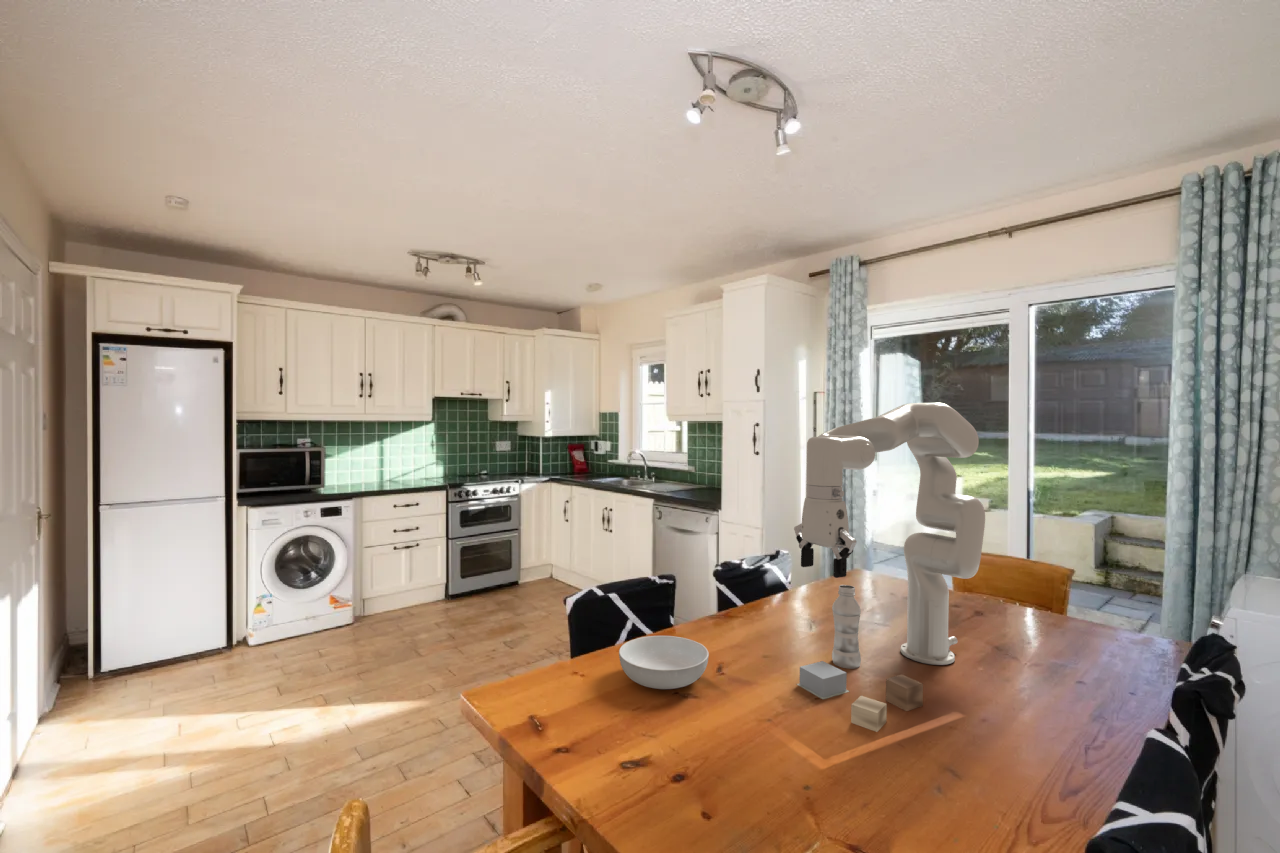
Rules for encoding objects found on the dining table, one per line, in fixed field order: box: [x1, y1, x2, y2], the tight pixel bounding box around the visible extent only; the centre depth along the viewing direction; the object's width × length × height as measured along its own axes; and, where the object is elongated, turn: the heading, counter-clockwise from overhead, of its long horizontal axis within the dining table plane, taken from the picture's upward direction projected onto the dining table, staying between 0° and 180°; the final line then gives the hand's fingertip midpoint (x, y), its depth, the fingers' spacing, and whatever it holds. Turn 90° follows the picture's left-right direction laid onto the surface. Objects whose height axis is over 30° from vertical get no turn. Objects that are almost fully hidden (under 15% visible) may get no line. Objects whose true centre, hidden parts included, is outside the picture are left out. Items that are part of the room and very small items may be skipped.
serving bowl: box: [618, 635, 710, 690], centre depth 134 cm, size 21×21×7 cm
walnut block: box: [885, 673, 924, 712], centre depth 121 cm, size 5×5×6 cm
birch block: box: [850, 695, 888, 733], centre depth 113 cm, size 5×5×5 cm
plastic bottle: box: [831, 584, 862, 670], centre depth 141 cm, size 6×7×20 cm
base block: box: [799, 660, 848, 698], centre depth 128 cm, size 7×7×4 cm
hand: (822, 571), depth 126 cm, fingers open, 9 cm apart
